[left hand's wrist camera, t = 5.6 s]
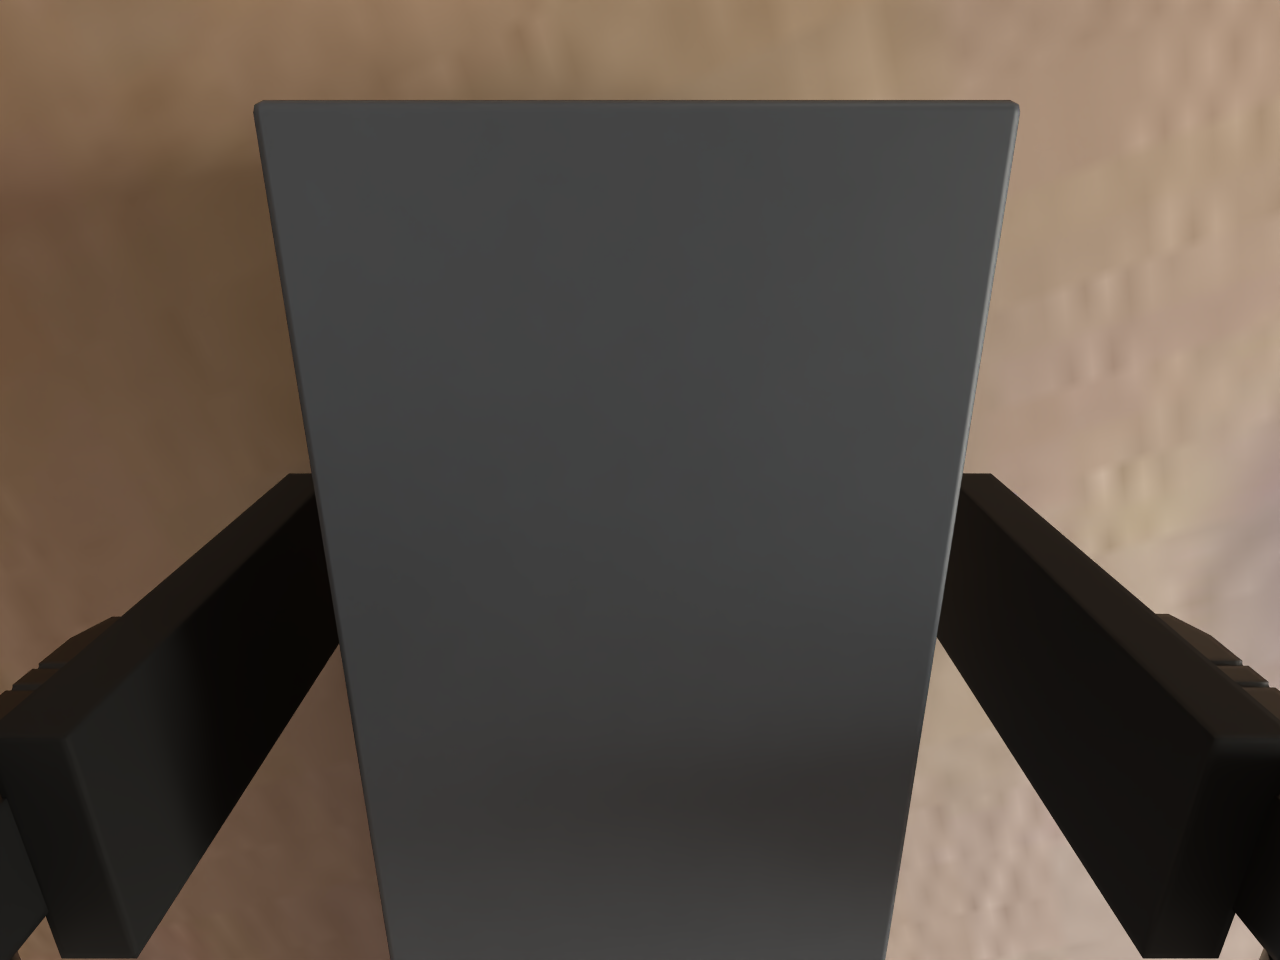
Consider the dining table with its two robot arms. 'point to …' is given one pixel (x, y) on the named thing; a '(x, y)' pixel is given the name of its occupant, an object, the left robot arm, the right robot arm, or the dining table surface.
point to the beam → (637, 498)
